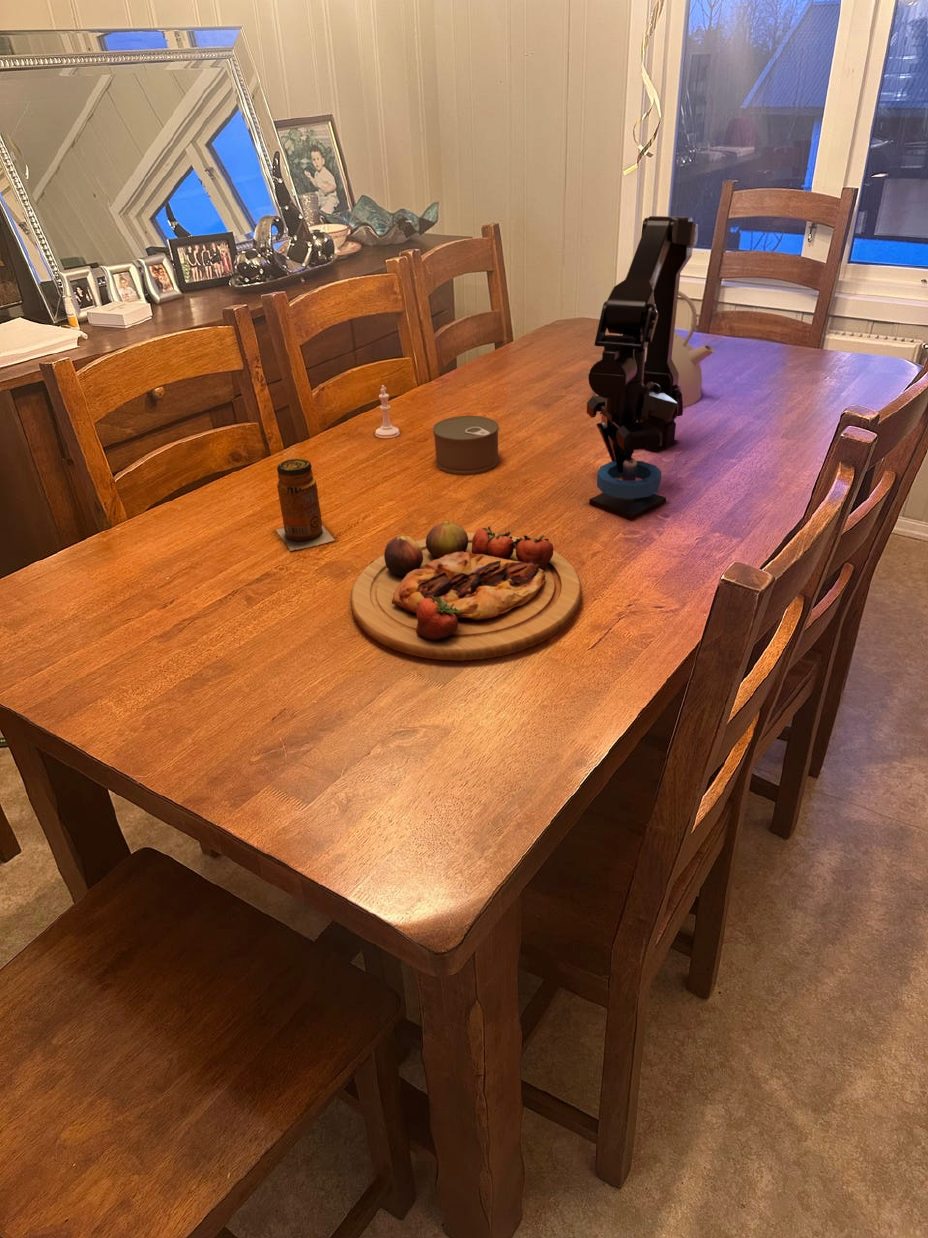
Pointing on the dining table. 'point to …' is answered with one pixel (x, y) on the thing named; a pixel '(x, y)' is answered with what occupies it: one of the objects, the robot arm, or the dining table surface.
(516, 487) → the dining table surface
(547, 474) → the dining table surface
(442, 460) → the can
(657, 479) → the blue ring
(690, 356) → the kettle
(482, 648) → the wooden plate
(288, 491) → the condiment
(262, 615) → the dining table surface
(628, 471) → the peg stand
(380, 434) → the chess piece
